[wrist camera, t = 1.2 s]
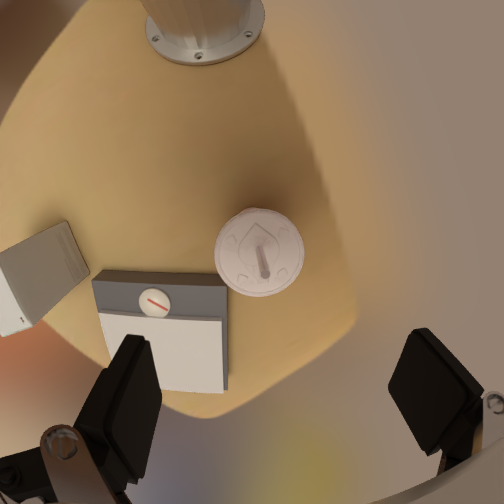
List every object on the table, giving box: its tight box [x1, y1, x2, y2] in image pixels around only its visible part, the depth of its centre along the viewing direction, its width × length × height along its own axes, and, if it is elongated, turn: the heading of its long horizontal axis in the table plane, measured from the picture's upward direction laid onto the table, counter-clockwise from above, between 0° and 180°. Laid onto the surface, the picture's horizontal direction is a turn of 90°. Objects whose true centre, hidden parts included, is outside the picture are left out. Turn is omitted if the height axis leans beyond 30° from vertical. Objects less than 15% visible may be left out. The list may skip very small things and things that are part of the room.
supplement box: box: [0, 221, 90, 337], centre depth 22 cm, size 7×7×13 cm
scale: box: [91, 270, 228, 394], centre depth 30 cm, size 15×15×4 cm
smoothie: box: [214, 207, 304, 297], centre depth 21 cm, size 6×6×14 cm
